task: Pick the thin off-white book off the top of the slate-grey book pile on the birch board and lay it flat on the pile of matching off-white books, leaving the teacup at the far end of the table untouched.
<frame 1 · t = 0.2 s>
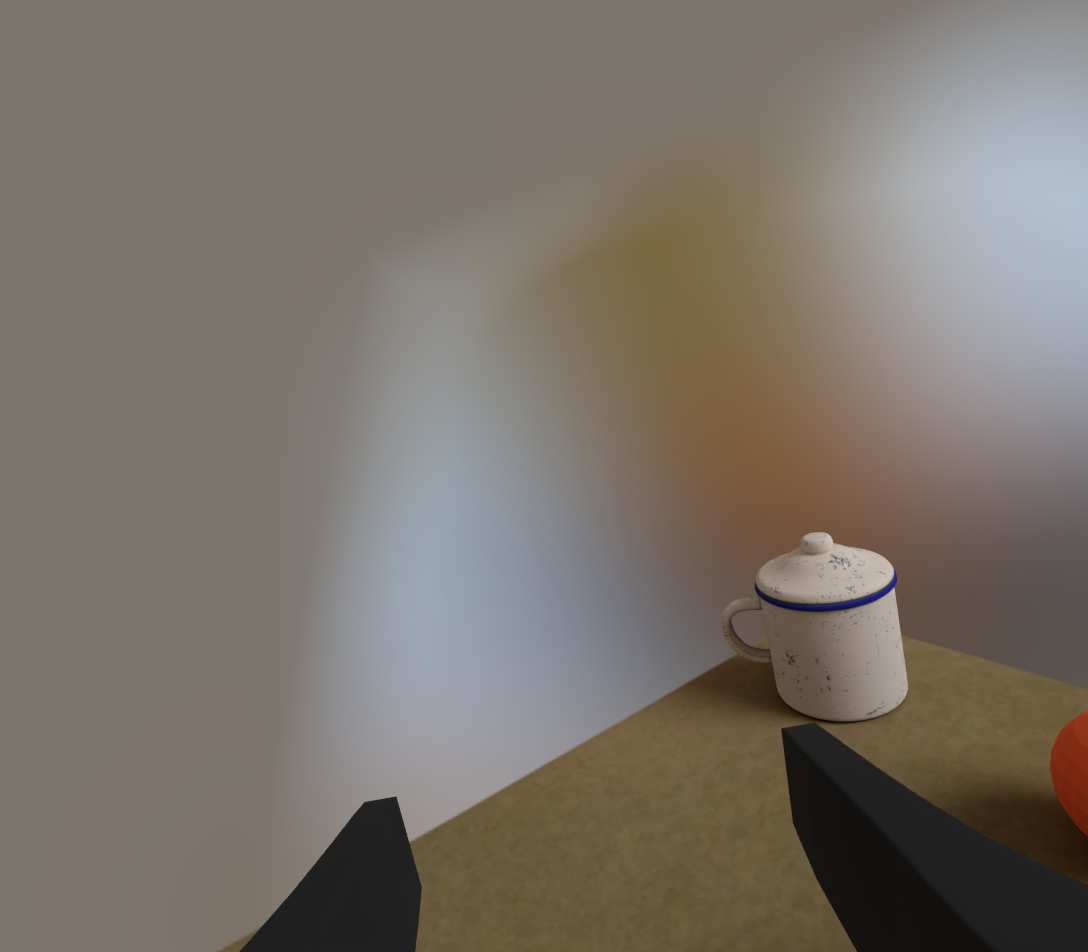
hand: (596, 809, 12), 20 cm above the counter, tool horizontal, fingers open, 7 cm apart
teacup with lid: (819, 690, 47), on the counter
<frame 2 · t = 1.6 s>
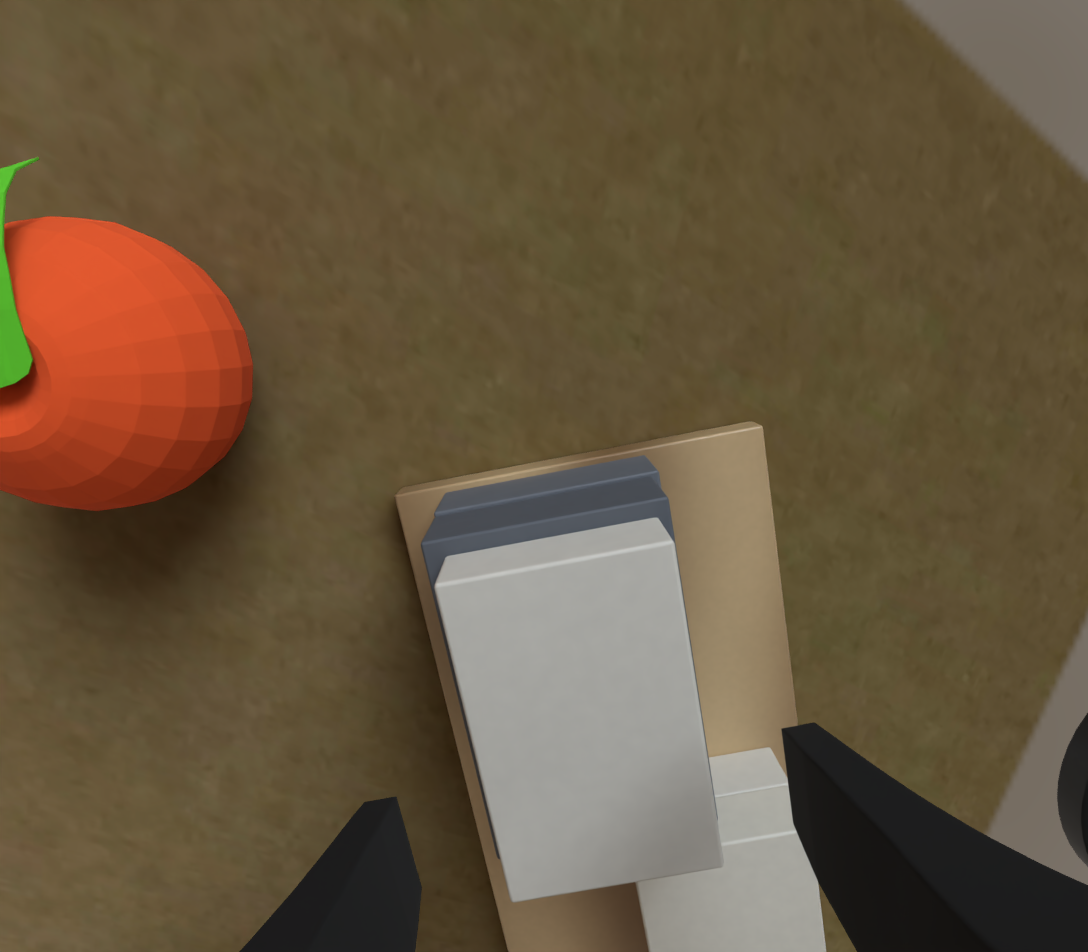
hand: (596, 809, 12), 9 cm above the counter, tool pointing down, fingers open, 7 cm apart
shelf board: (623, 718, 22), on the counter
white book: (581, 690, 16), point 5 cm above the counter, touching grey books
clementine: (177, 343, 19), on the counter
grey books: (571, 613, 20), resting on shelf board
white books: (710, 860, 22), resting on shelf board
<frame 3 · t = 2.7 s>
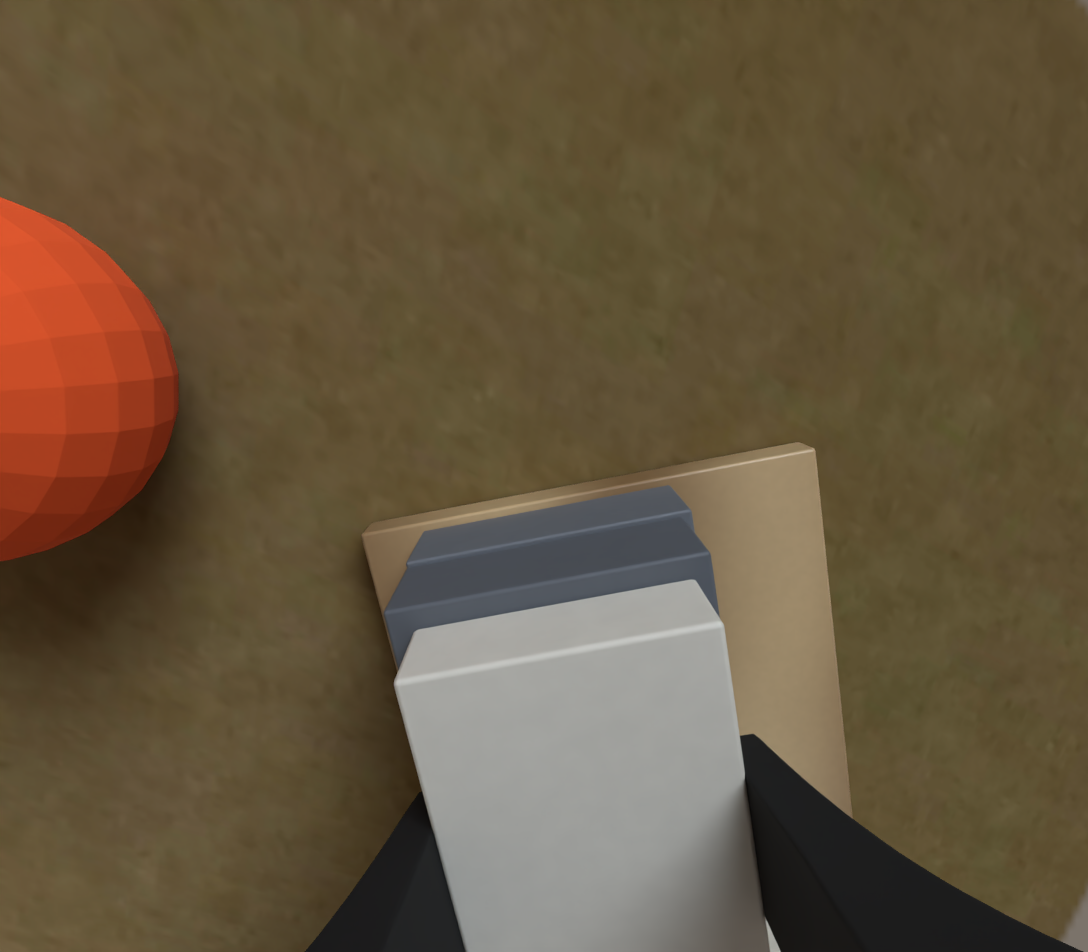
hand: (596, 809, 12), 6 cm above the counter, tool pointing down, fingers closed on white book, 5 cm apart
shelf board: (640, 795, 18), on the counter
white book: (592, 798, 12), point 5 cm above the counter, touching grey books, gripper
clementine: (93, 347, 16), on the counter
grey books: (579, 676, 17), resting on shelf board
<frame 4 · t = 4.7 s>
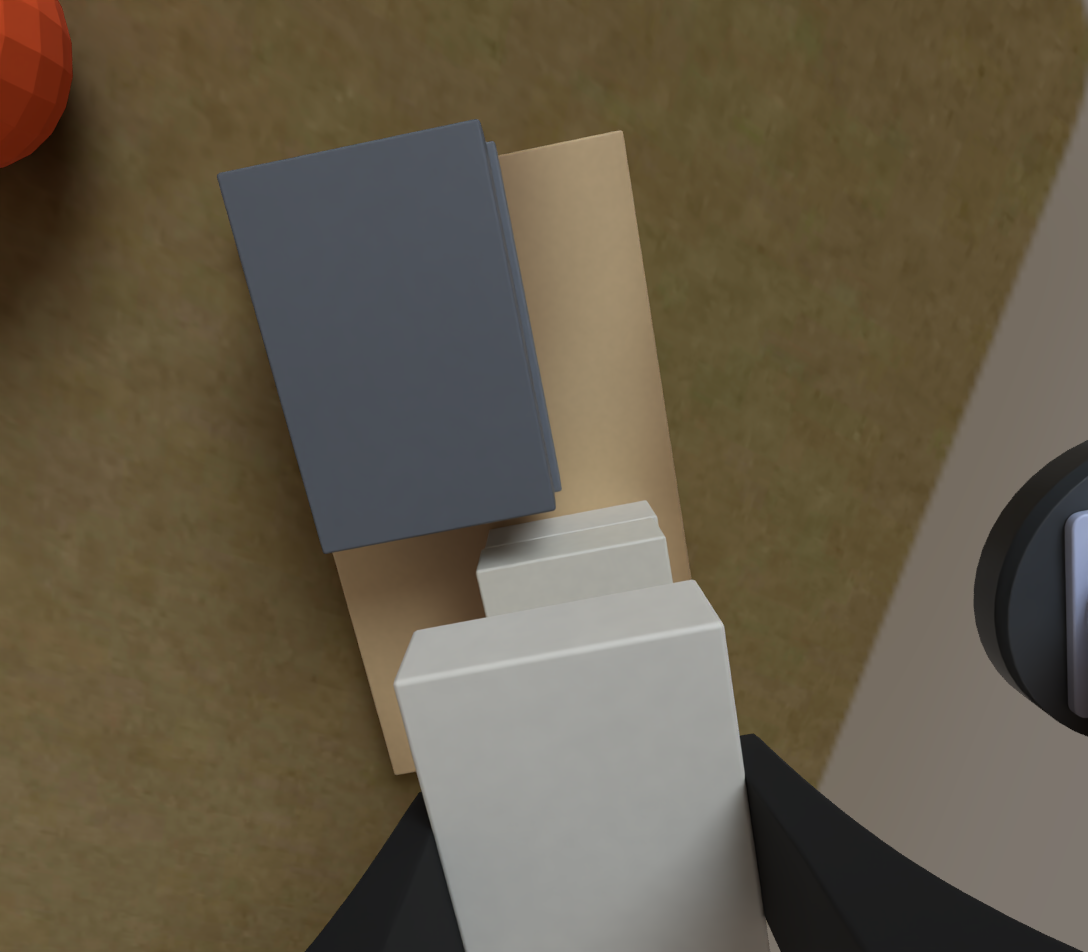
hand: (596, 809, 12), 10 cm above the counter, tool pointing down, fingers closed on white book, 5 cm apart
shelf board: (498, 480, 21), on the counter
white book: (592, 798, 12), point 10 cm above the counter, touching gripper
clementine: (9, 52, 18), on the counter
grey books: (430, 346, 19), resting on shelf board
white books: (590, 630, 21), resting on shelf board
when the fingers open (5 cm above the counter, at t = 6.8 s): white book stays where it is, resting on white books.
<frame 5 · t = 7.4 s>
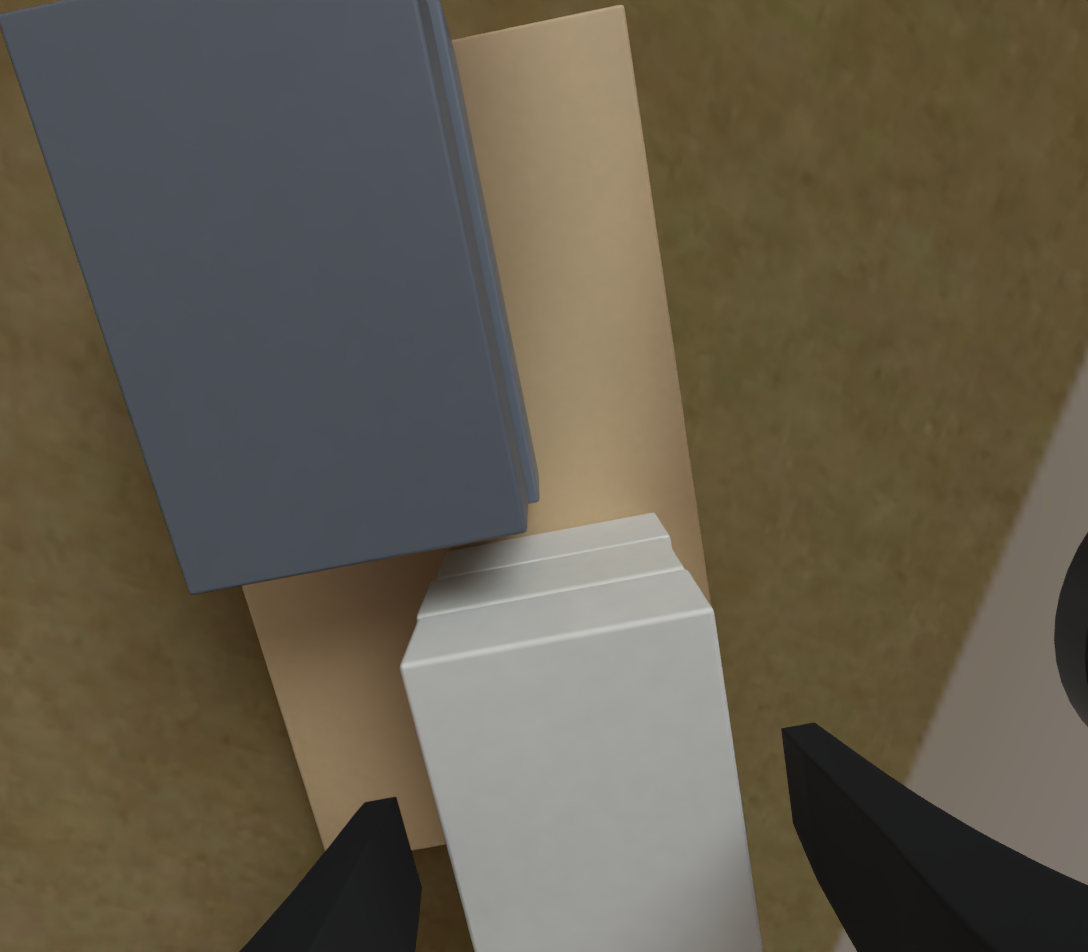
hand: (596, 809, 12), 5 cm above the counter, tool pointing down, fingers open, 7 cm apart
shelf board: (460, 486, 16), on the counter
white book: (589, 780, 13), point 5 cm above the counter, touching white books
grey books: (364, 305, 14), resting on shelf board
white books: (580, 682, 16), resting on shelf board
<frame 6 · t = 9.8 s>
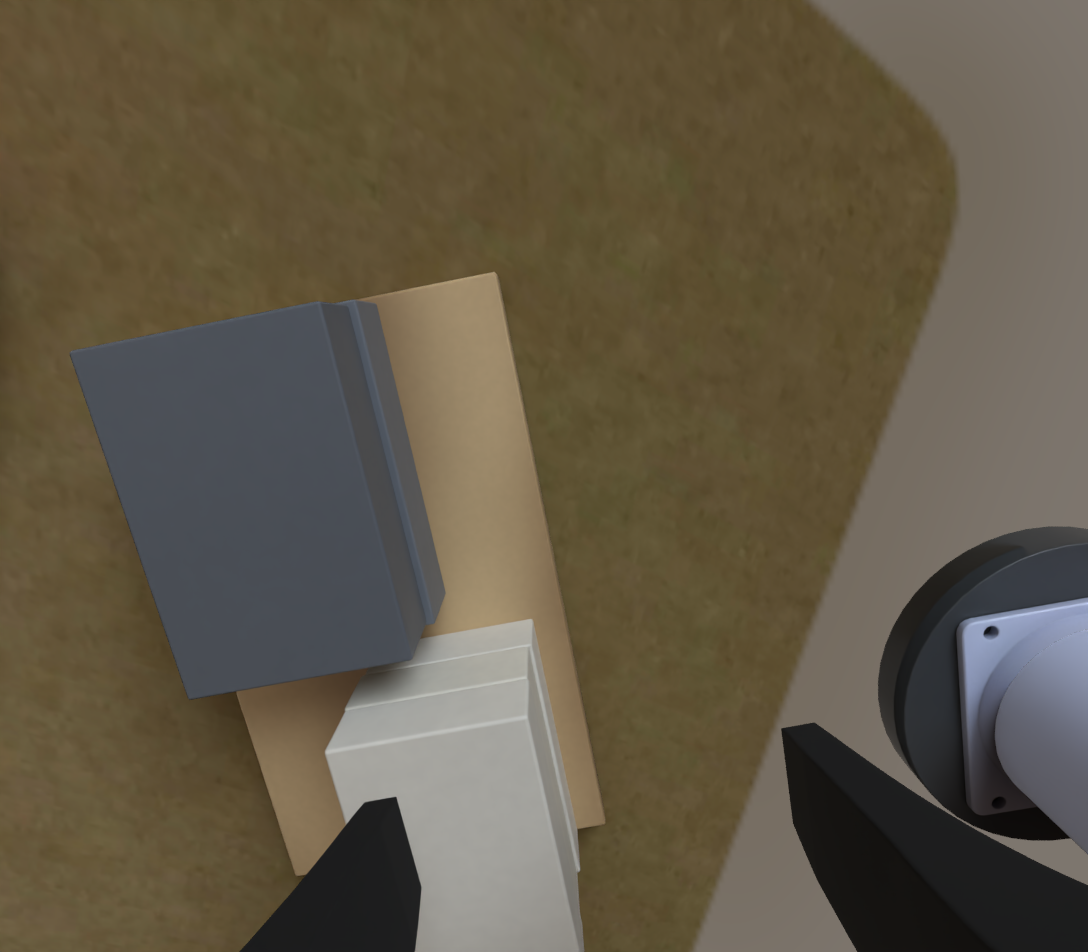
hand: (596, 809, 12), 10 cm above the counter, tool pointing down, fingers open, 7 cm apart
shelf board: (391, 594, 22), on the counter
white book: (468, 821, 18), point 5 cm above the counter, touching white books
grey books: (316, 473, 20), resting on shelf board
white books: (481, 741, 22), resting on shelf board
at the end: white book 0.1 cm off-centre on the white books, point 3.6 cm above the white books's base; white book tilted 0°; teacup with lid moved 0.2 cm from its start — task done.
